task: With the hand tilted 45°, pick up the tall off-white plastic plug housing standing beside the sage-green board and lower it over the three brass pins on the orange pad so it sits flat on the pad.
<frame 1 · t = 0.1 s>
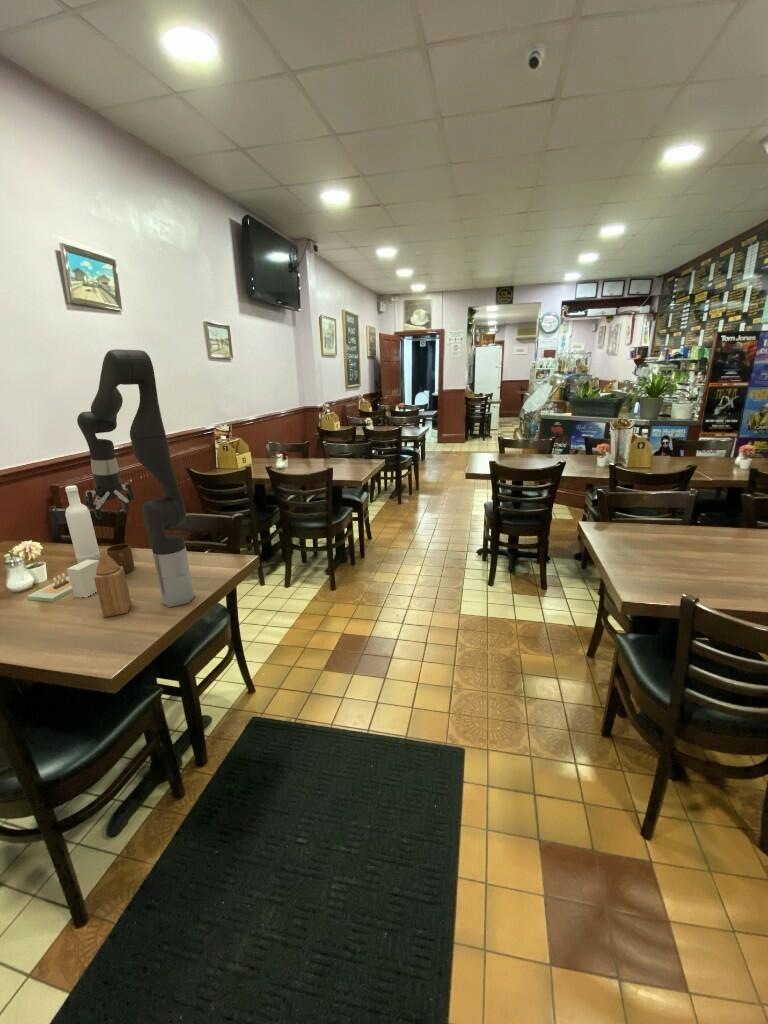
hand: (112, 515, 152), 22 cm above the table, tool pointing down, fingers open, 8 cm apart
mug: (124, 573, 159), on the table
bottle: (89, 560, 171), on the table
decorative item: (118, 611, 132), on the table
header board: (62, 589, 147), on the table
housing: (90, 591, 145), on the table
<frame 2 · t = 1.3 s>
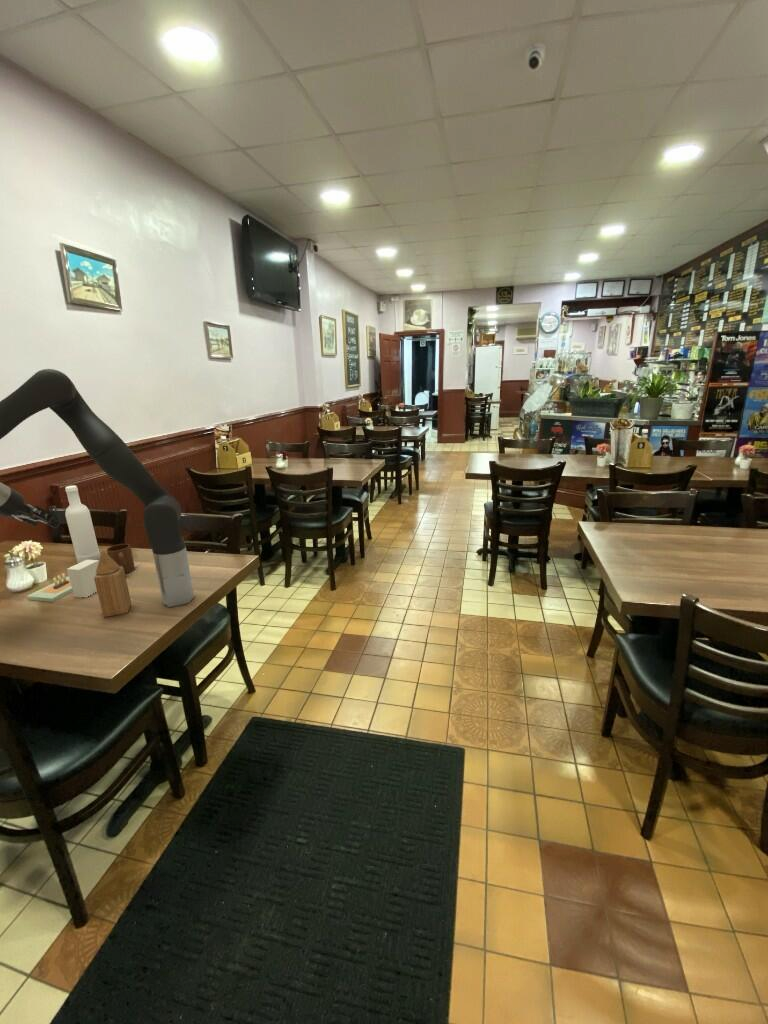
hand: (47, 524, 131), 26 cm above the table, tool tilted 45°, fingers open, 8 cm apart
nothing on the table moved.
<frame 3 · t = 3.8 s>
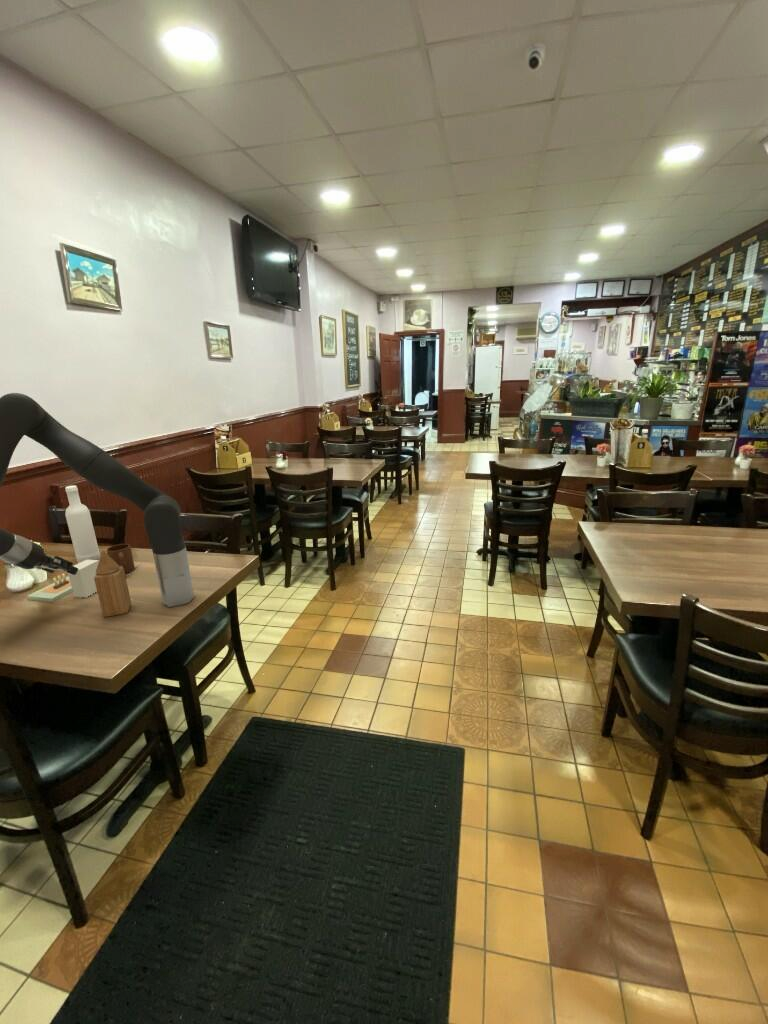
hand: (64, 571, 135), 11 cm above the table, tool tilted 45°, fingers open, 8 cm apart
nothing on the table moved.
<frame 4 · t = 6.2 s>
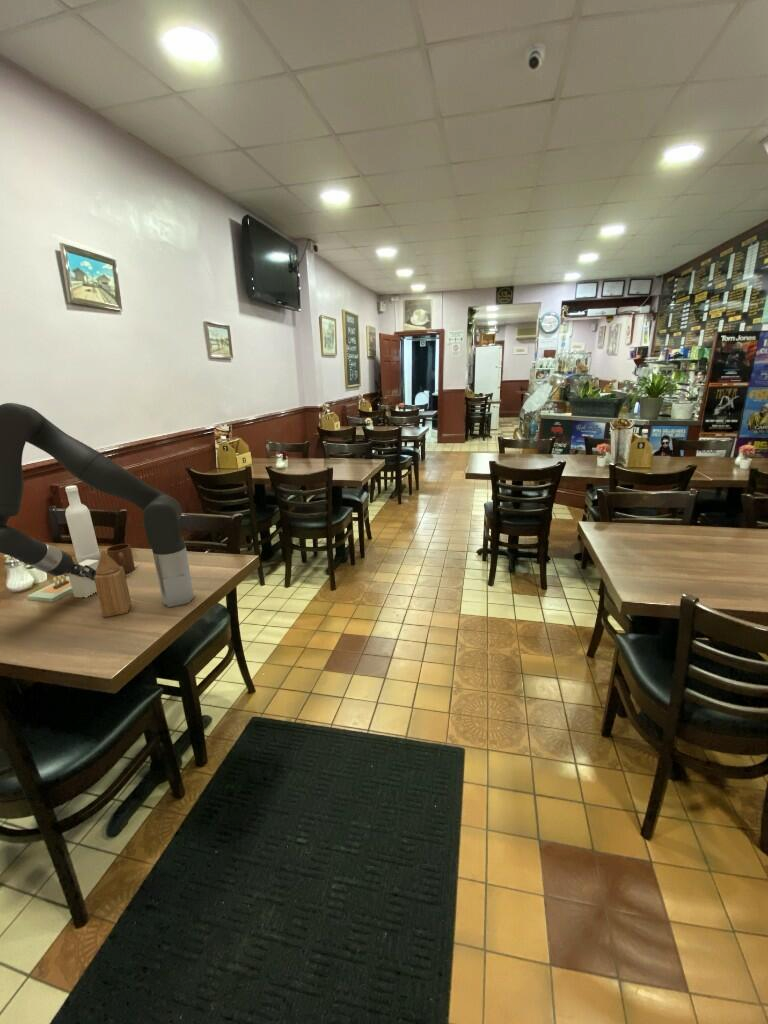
hand: (91, 578, 145), 4 cm above the table, tool tilted 45°, fingers closed on housing, 4 cm apart
housing: (90, 591, 145), on the table, touching gripper
everything else where it was.
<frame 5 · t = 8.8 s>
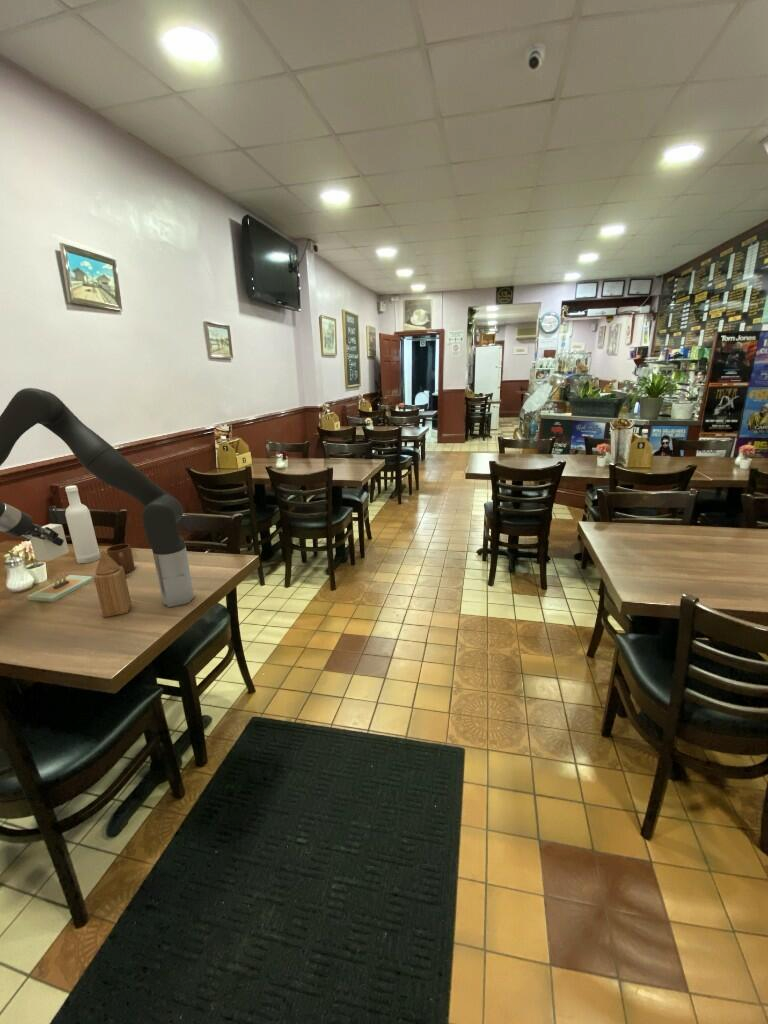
hand: (54, 542, 144), 16 cm above the table, tool tilted 45°, fingers closed on housing, 4 cm apart
housing: (52, 556, 143), point 12 cm above the table, touching gripper
everything else where it was.
when the fingers open (7 cm above the table, at t = 11.5 s): housing drops 1 cm, resting on header board.
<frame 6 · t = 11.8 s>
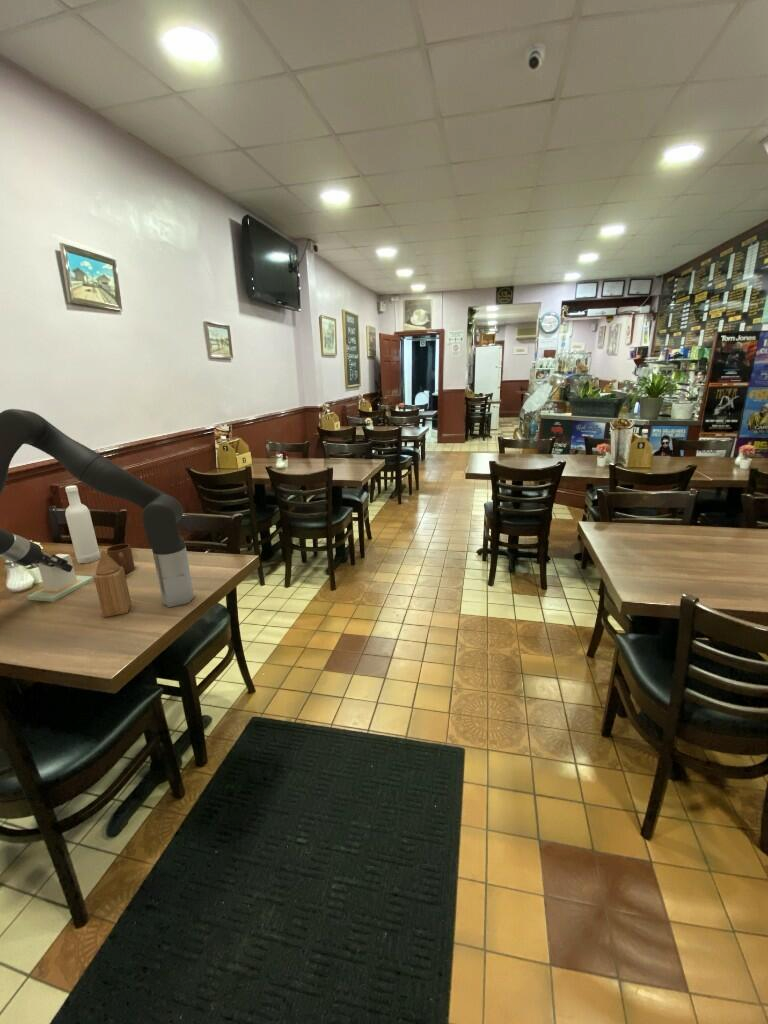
hand: (61, 568, 146), 7 cm above the table, tool tilted 45°, fingers open, 7 cm apart
housing: (61, 585, 147), point 1 cm above the table, touching header board
everything else where it was.
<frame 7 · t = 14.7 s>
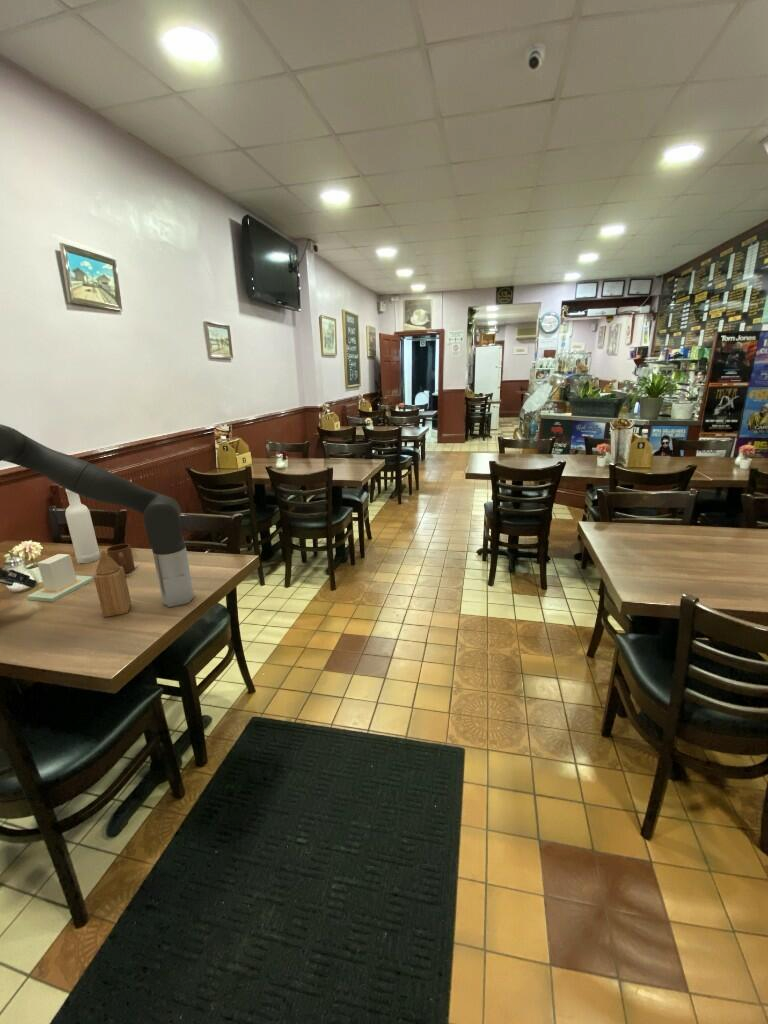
hand: (23, 583, 134), 8 cm above the table, tool tilted 45°, fingers open, 8 cm apart
nothing on the table moved.
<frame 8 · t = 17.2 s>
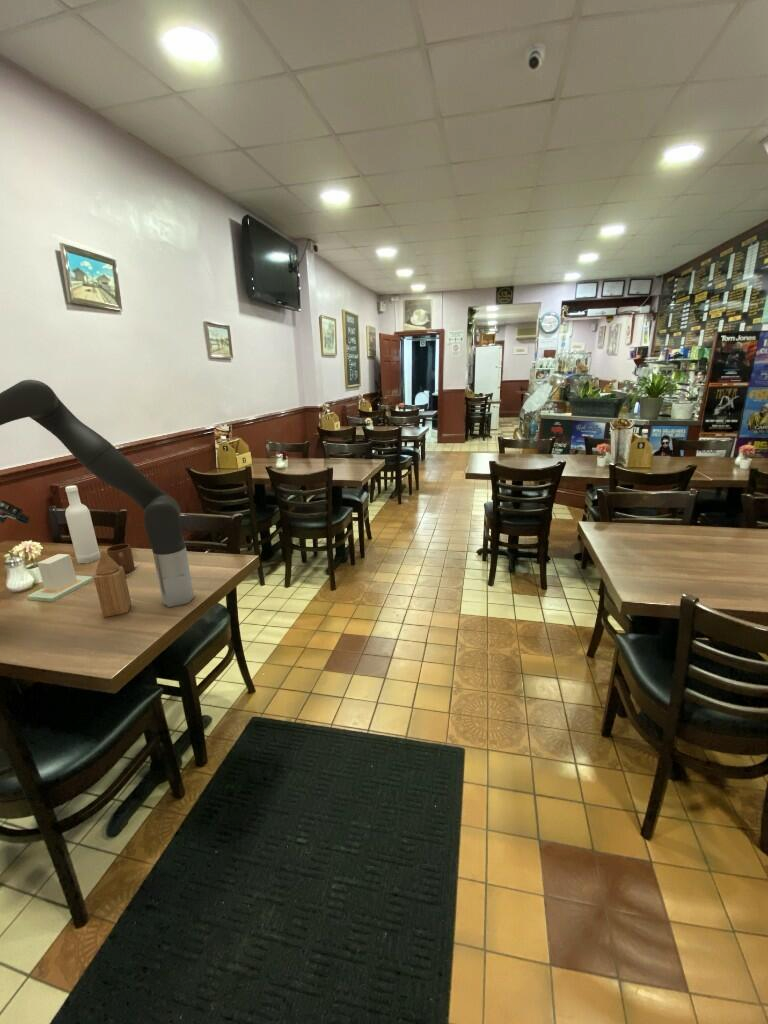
hand: (16, 520, 127), 29 cm above the table, tool tilted 45°, fingers open, 8 cm apart
nothing on the table moved.
at the end: housing 0.1 cm off-centre on the header board, point 1.3 cm above the header board's base; housing tilted 0°; the gripper is holding nothing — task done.
